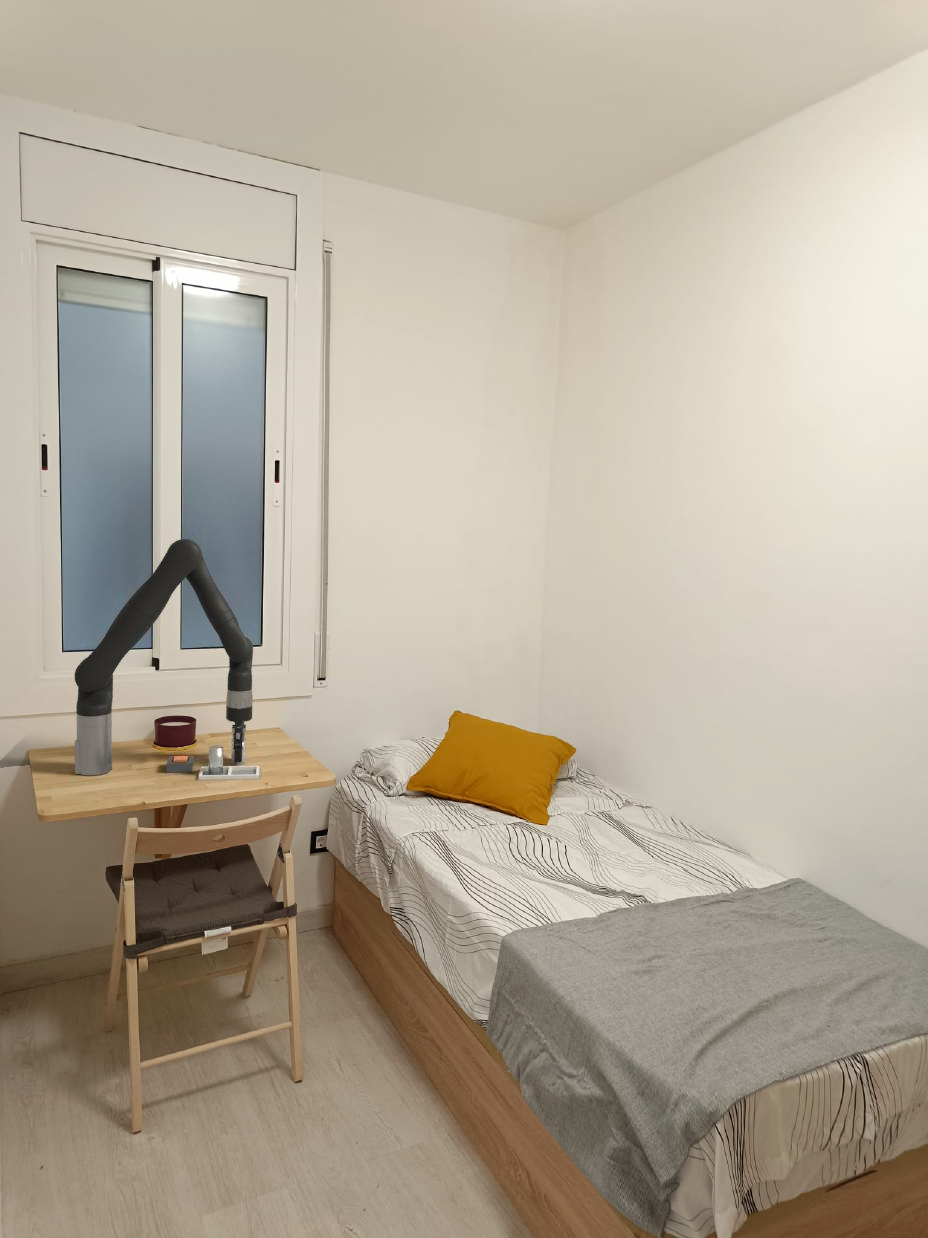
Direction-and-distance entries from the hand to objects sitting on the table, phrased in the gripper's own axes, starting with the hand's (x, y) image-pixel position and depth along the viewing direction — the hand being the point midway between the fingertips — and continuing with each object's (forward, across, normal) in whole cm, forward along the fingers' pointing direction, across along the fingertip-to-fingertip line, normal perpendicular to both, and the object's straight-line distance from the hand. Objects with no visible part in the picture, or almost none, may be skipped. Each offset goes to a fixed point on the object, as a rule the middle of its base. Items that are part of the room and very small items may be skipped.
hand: (238, 759), depth 251 cm
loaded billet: (+1, +10, -6) cm, 12 cm away
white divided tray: (+2, +10, -2) cm, 11 cm away
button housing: (+2, +5, -16) cm, 17 cm away
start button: (0, +5, -16) cm, 17 cm away
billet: (+2, 0, 0) cm, 2 cm away
